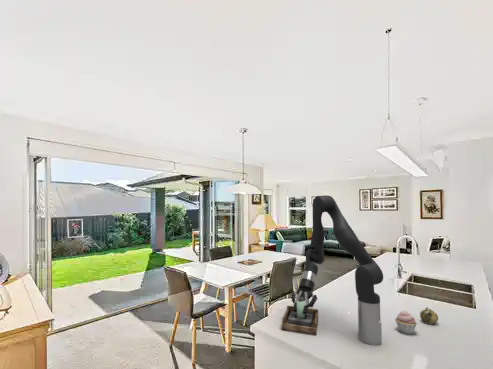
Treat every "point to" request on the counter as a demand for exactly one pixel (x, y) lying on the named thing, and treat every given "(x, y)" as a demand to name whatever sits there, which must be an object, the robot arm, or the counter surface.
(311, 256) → the robot arm
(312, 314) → the box
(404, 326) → the cupcake
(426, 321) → the olive green pumpkin
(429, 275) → the counter surface
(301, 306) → the mint green cylinder
